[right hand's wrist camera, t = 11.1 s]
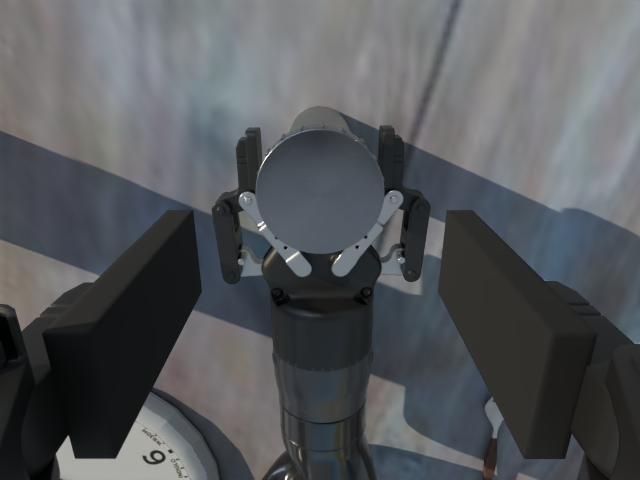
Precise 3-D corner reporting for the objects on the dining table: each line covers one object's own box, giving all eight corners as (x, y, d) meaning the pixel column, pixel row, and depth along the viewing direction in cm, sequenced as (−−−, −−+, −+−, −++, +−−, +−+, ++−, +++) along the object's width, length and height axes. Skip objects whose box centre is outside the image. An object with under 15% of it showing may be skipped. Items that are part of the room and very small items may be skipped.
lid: (399, 212, 22) (406, 224, 20) (292, 259, 23) (290, 274, 21) (351, 100, 20) (353, 103, 18) (236, 156, 21) (229, 164, 19)
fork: (469, 498, 49) (475, 515, 47) (488, 378, 43) (496, 392, 41) (493, 498, 49) (500, 515, 47) (515, 378, 43) (524, 392, 41)
